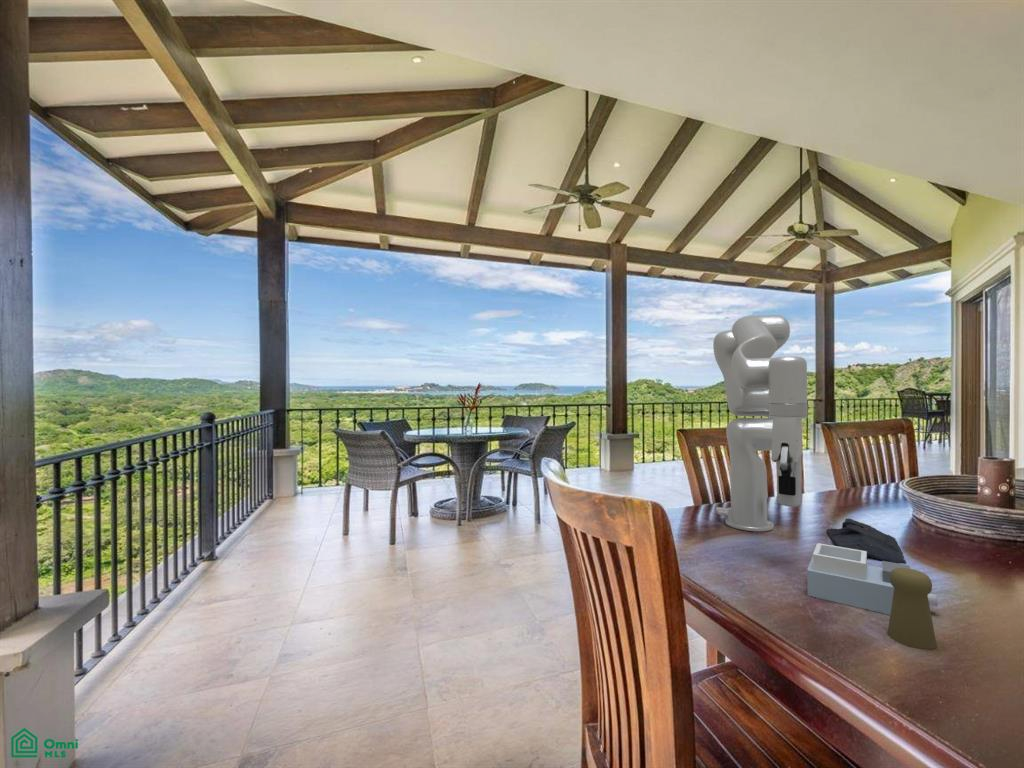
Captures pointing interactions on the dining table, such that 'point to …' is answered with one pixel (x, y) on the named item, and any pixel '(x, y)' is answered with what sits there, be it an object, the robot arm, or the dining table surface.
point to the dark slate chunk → (867, 541)
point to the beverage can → (797, 499)
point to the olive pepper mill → (911, 609)
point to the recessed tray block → (852, 579)
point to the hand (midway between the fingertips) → (789, 491)
